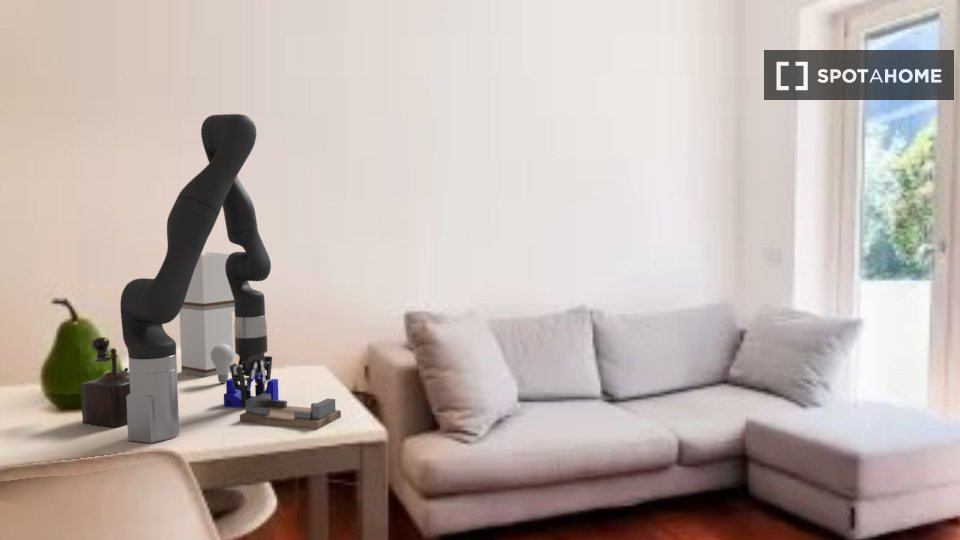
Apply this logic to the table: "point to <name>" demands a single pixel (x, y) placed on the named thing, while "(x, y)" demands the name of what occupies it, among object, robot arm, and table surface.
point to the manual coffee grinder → (106, 392)
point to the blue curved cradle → (234, 396)
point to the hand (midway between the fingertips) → (253, 402)
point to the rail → (289, 412)
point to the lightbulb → (222, 360)
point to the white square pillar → (206, 315)
